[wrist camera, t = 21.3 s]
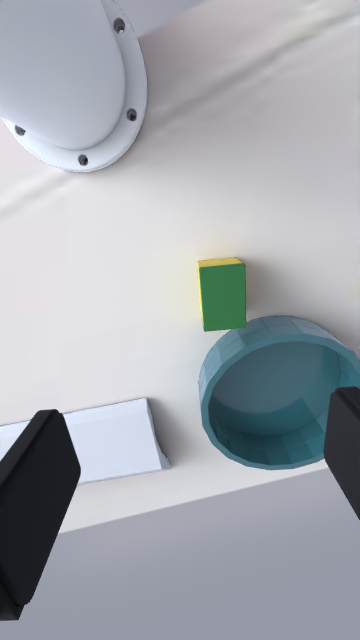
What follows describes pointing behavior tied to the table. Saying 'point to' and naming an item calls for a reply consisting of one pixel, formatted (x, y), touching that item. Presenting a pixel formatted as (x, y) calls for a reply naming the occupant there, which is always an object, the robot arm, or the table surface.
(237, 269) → the sponge
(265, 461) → the bowl
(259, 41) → the table surface
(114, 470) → the crown molding
